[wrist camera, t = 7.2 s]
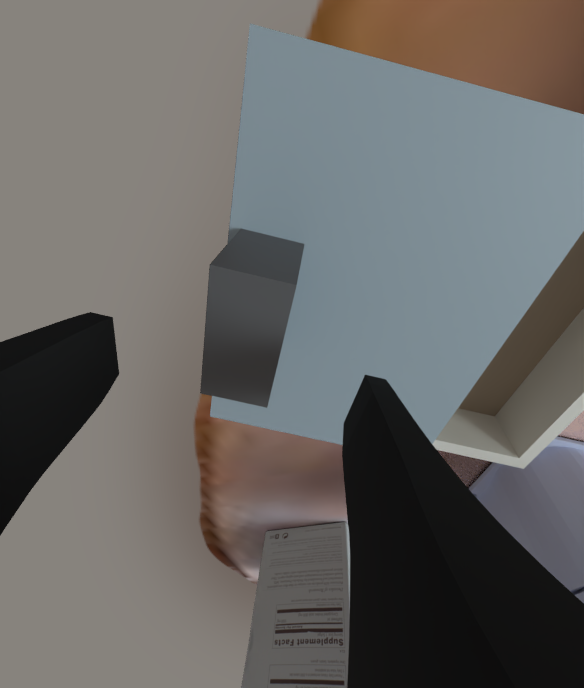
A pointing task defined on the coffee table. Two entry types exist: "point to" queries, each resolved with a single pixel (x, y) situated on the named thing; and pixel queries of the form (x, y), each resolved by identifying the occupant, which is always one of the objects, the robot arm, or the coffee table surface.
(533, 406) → the carton
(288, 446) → the coffee table surface
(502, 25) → the coffee table surface
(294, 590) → the supplement box
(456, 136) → the lid flap
